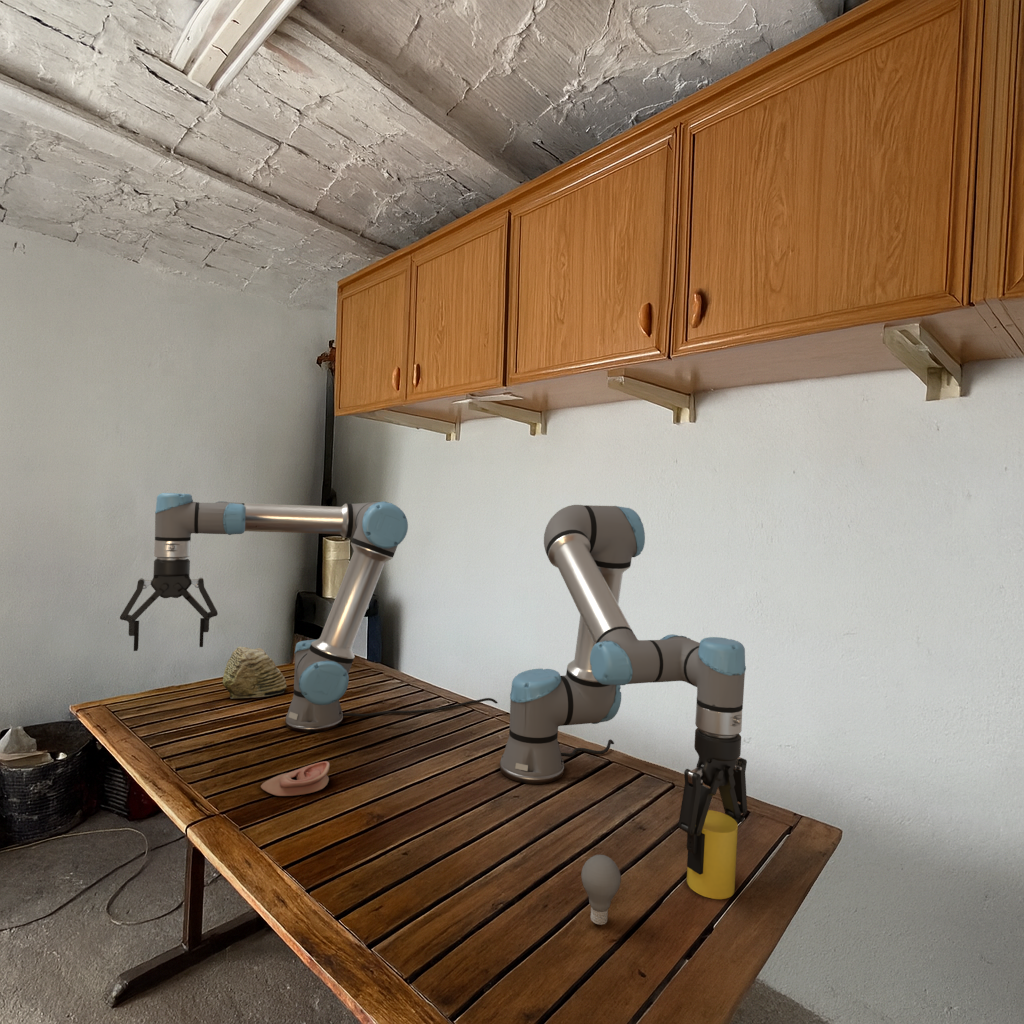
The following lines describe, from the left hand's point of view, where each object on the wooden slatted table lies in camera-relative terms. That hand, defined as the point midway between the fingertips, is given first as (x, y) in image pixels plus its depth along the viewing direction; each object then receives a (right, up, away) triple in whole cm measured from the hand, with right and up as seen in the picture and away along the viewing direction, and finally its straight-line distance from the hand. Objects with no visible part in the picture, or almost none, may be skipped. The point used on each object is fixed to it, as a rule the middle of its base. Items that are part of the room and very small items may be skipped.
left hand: (169, 647), depth 150 cm
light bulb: (+95, -31, -53) cm, 113 cm away
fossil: (+1, -25, +48) cm, 54 cm away
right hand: (+115, -28, -42) cm, 126 cm away
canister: (+115, -32, -41) cm, 127 cm away
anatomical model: (+34, -28, -12) cm, 45 cm away
